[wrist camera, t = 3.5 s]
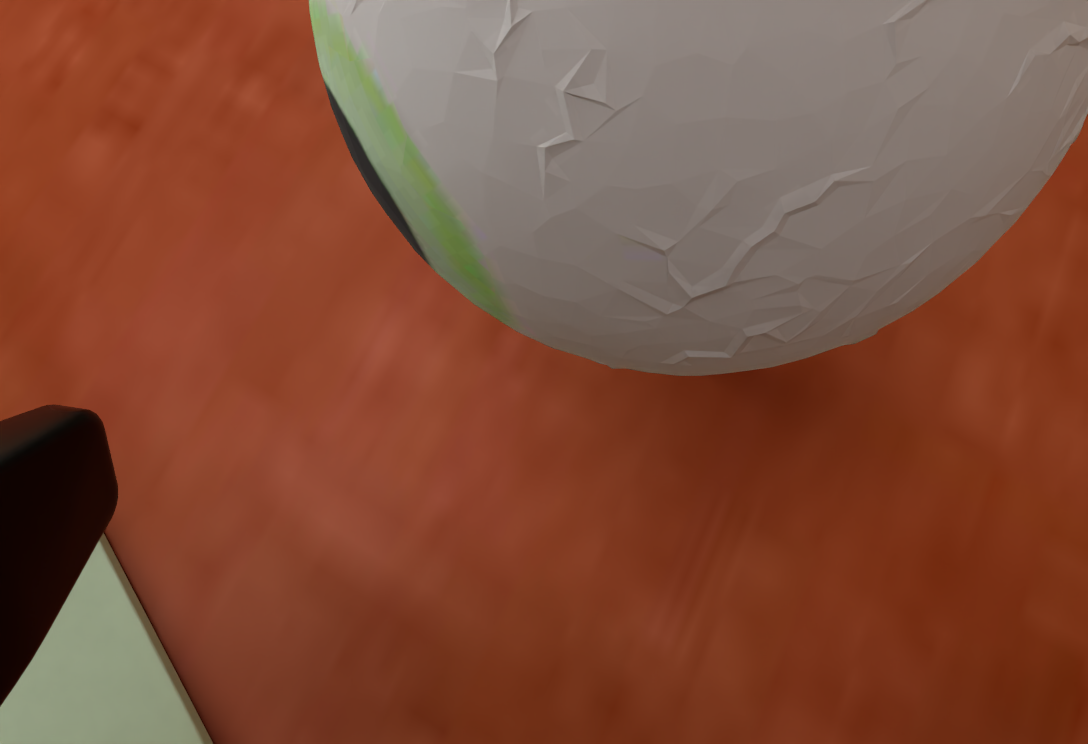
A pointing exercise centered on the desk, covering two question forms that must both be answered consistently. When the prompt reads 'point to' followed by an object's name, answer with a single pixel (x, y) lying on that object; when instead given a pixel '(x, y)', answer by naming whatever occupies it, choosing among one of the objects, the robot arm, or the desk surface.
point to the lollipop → (703, 158)
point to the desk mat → (100, 673)
